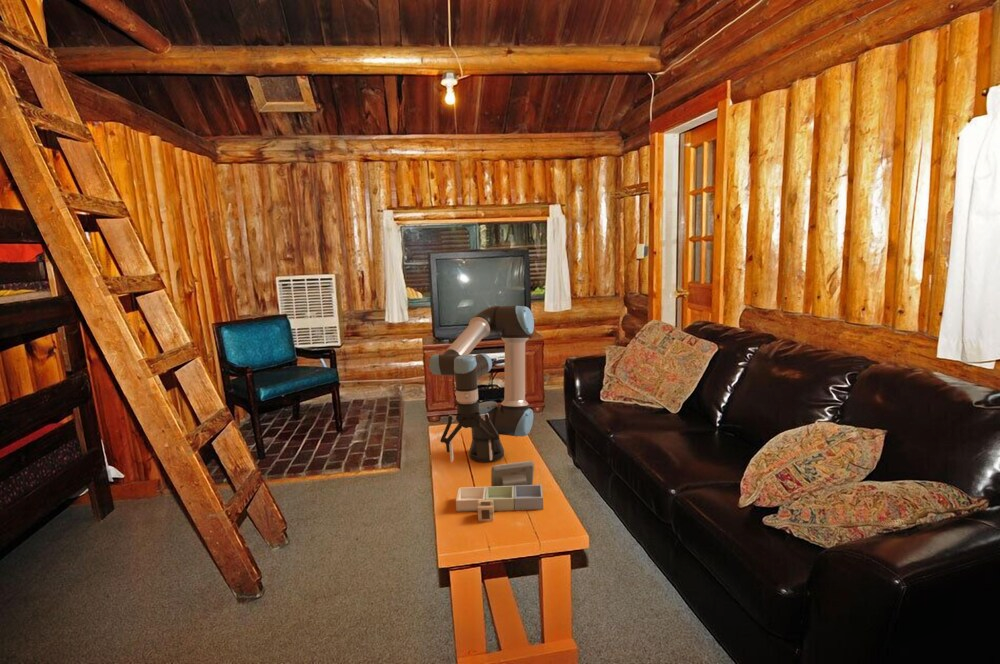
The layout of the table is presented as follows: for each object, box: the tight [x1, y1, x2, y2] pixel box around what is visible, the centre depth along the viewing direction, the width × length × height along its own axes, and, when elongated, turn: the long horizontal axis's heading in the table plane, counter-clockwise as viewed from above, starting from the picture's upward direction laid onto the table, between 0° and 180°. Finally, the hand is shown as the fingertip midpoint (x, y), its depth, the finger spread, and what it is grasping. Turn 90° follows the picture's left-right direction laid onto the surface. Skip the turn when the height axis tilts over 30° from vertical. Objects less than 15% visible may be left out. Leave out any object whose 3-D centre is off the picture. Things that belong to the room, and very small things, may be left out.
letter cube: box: [477, 500, 495, 522], centre depth 177 cm, size 5×5×5 cm
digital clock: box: [490, 460, 535, 486], centre depth 195 cm, size 16×9×11 cm, turn 89°
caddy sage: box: [485, 485, 515, 512], centre depth 185 cm, size 10×10×4 cm
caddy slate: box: [514, 484, 544, 511], centre depth 185 cm, size 10×10×4 cm
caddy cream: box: [455, 486, 487, 513], centre depth 186 cm, size 10×10×4 cm
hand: (471, 459), depth 183 cm, fingers open, 13 cm apart
